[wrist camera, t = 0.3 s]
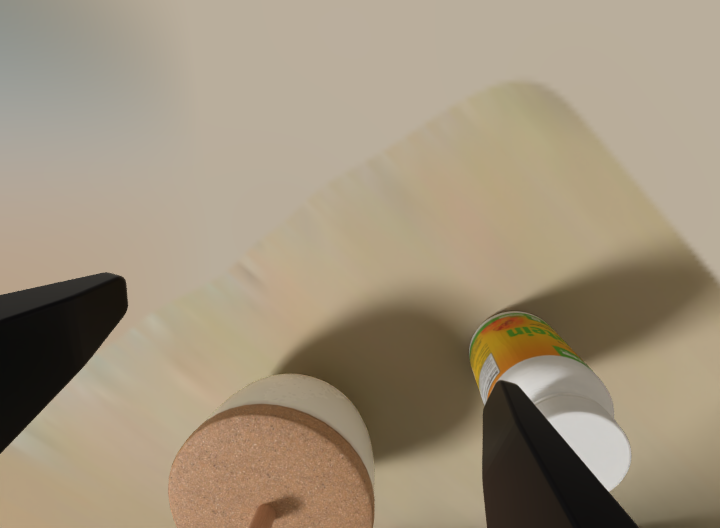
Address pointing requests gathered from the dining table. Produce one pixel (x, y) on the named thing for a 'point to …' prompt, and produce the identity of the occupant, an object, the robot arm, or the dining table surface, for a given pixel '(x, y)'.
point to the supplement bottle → (553, 388)
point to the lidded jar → (277, 461)
